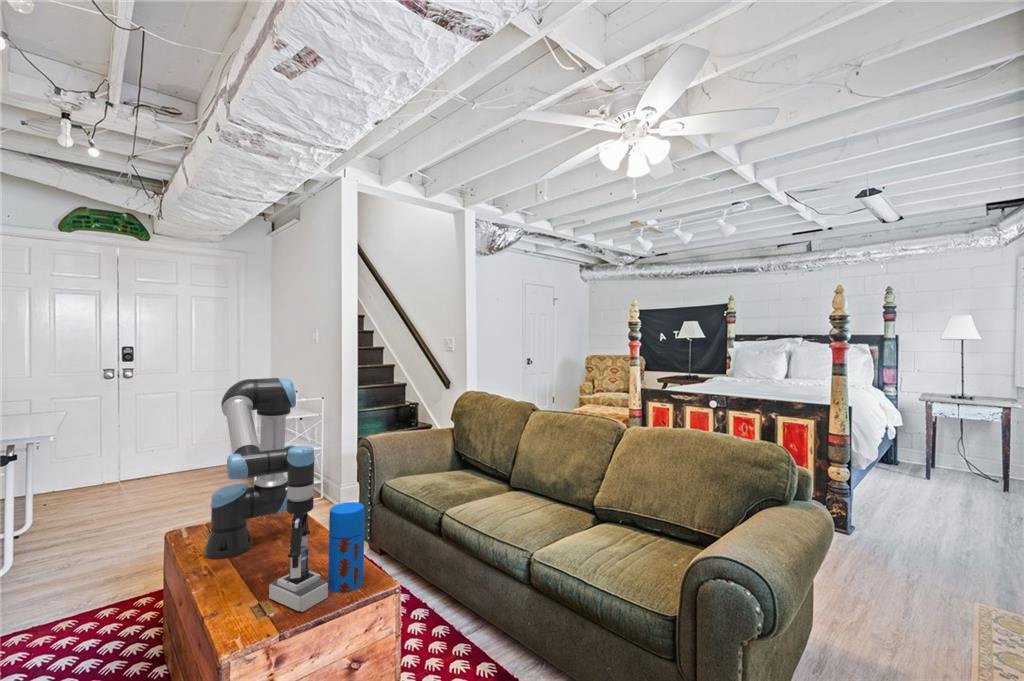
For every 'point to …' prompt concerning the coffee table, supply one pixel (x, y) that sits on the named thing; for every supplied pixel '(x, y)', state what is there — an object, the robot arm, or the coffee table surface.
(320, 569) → the coffee table surface
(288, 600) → the grey square frame
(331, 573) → the thermos
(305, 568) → the lens
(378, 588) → the coffee table surface
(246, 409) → the robot arm
